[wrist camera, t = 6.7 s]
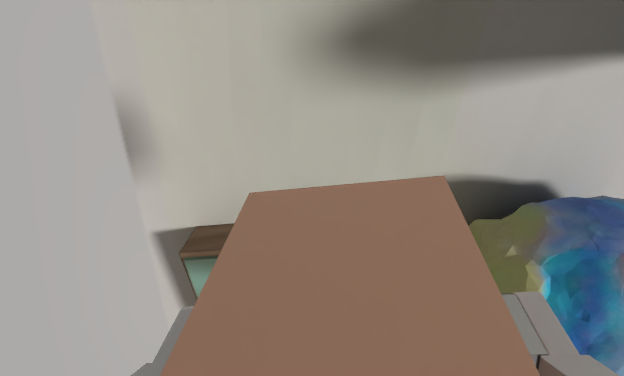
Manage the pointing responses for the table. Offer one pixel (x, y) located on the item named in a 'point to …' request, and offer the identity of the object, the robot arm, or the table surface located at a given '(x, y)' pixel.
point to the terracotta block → (351, 290)
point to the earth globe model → (566, 266)
